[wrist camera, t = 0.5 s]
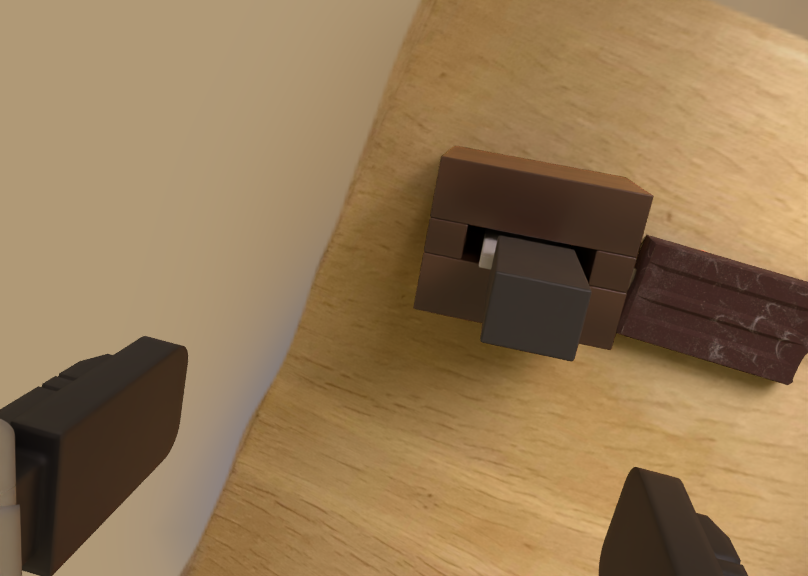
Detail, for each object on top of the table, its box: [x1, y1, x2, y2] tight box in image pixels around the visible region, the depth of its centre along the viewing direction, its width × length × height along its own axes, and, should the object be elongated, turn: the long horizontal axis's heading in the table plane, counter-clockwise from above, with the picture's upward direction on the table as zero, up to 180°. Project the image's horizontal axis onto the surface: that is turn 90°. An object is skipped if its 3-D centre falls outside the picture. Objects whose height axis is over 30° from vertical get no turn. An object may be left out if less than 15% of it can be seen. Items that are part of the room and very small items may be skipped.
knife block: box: [414, 146, 653, 350], centre depth 33 cm, size 7×9×7 cm
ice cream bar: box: [572, 235, 808, 385], centre depth 36 cm, size 5×2×15 cm
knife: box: [479, 228, 592, 361], centre depth 29 cm, size 2×4×16 cm, turn 80°
